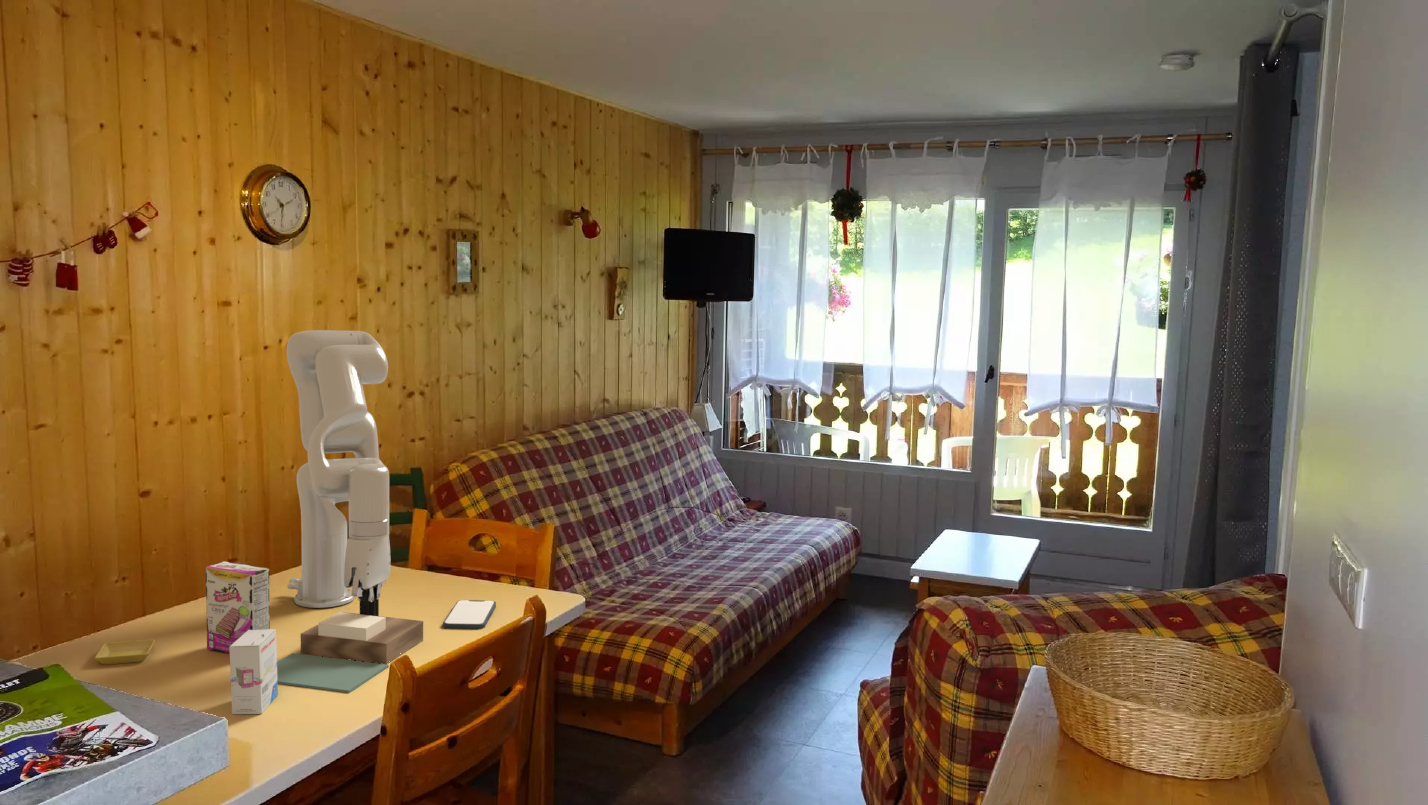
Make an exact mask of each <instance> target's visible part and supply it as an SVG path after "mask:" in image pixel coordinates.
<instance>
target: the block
mask: <svg viewBox="0 0 1428 805" xmlns="http://www.w3.org/2000/svg"><path fill="white" fill-rule="evenodd" d="M342 612H343V613H348V611H347V612H346V611H342ZM351 613H352V614H357V613H355V612H351ZM379 617H384V616H382V615H381V616H380V615H379ZM385 617H386V629H385V630H384V631H382V632H380V633H379V634H377V635H375V636H374V637H372V638H370V639H369V640H367V641H363V640H354V639H346V638H337V637H329V636H320V635H318V624H316V625H315V626H312V627H311V628H308V629H307V630H304V631H303V632H301V633H300V654H304V655H313V656H321V657H322V656H323V657H329V658H330V657H331V658H337V659H345V660H346V659H351V660H353V661H354V660H356V661H364V662H370V663H371V662H377V663H378V664H379V663H383V664H386V665H388V664H389V663H391V662H393V661H394V660H395V659H397V658H398V656H399V657H400V656H402V655H403V654H405V653H406V652H408V651H409V650H411V649H412V648H414V647H416V646H417V645H418V644H420V643H421V642H423V641H424V620H418V619H408V618H401V617H399V618H398V617H388V616H385ZM400 653H401V654H400ZM393 659H394V660H393ZM389 661H390V662H389ZM388 662H389V663H388ZM387 663H388V664H387Z"/></svg>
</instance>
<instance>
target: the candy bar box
mask: <svg viewBox="0 0 1428 805" xmlns="http://www.w3.org/2000/svg"><path fill="white" fill-rule="evenodd" d="M205 596H206V598H205V599H206V601H205V603H206V649H207V650H211V651H215V652H219V653H225V654H230V650H229V647H230V646H231V645H232V644H233V643H234V642H235V641H236V640H238V639H239V638H240V637H241V636H242V635H243V634H244V633H245V632H247V631H248V630H263V629H271V623H270V618H271V616H270V609H271V608H270V607H271V606H270V568H268V567H260V566H252V565H248V564H243V563H236V562H232V561H231V562H230V561H220V562H217V563H214V564H211V565H208V566H206V567H205Z"/></svg>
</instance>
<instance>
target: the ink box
mask: <svg viewBox="0 0 1428 805" xmlns="http://www.w3.org/2000/svg"><path fill="white" fill-rule="evenodd" d="M277 649H278V648H277V630H276V629H275V628H270V629H263V630H248V631H247V632H245V633H244V634H243V635H242V636H241V637H240V638H239V639H238V640H236V641H235V642H234V643H233V644H232V645H231V646H230V647H229V650H230V653H229V666H230V667H229V668H230V695H231V698H230V699H231V714H232V715H261V714H263V713H264V712H265V711H266V709H267V708H268V707H269V706H270V704H271V703H272V702H273V701H274V700H275V699H276V698H277V696H278V695H279V691H278V690H279V688H278V687H279V685H278V683H277V661H278V654H277V653H278V652H277Z"/></svg>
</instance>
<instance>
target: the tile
mask: <svg viewBox="0 0 1428 805" xmlns="http://www.w3.org/2000/svg"><path fill="white" fill-rule="evenodd" d="M343 612H344V611H339V612H337V613H335V614H333V615H331V616H329V617H327V618H325V619H324V620H321V621H319V622H318V623H317V625H318V635H320V636H329V637H337V638H346V639H354V640H363V641H367V640H369V639H370V638H372V637H374V636H375V635H377V634H379V633H380V632H382V631H384V630H385V629H386V617H387V616H383V617H379V616H380V615H379V616H370V615H361V614H360V613H356V614H352V613H353V612H347V613H343Z"/></svg>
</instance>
